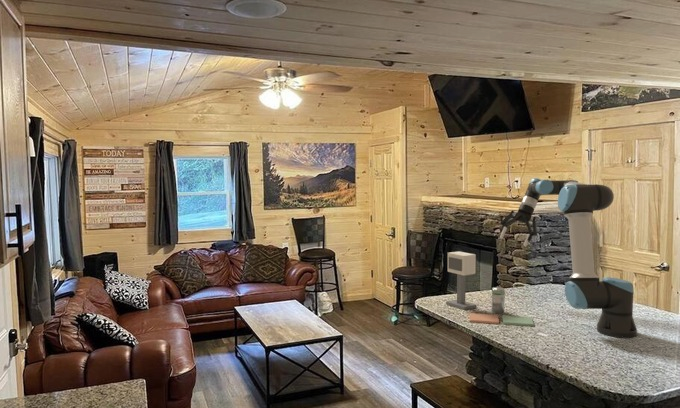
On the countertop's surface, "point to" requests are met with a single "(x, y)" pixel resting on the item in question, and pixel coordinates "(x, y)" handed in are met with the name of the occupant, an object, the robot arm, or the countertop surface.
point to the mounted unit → (461, 276)
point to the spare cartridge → (498, 300)
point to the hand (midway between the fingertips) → (512, 242)
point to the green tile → (517, 320)
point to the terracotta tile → (484, 318)
